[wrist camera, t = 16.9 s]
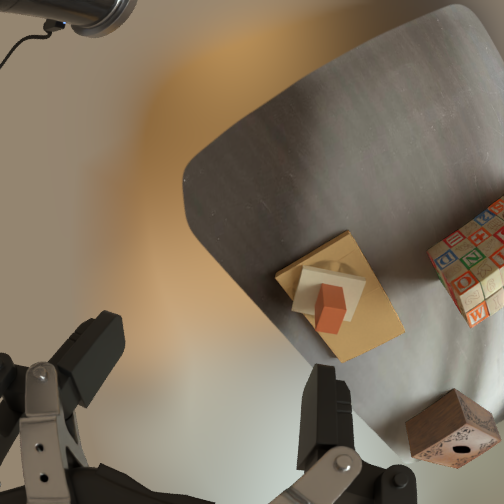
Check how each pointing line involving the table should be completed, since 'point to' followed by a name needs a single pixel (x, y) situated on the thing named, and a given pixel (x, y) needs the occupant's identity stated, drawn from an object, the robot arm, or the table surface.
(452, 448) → the tissue box cover
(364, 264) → the base pad
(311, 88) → the table surface
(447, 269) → the stack of blocks
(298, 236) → the table surface
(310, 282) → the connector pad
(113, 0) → the robot arm
